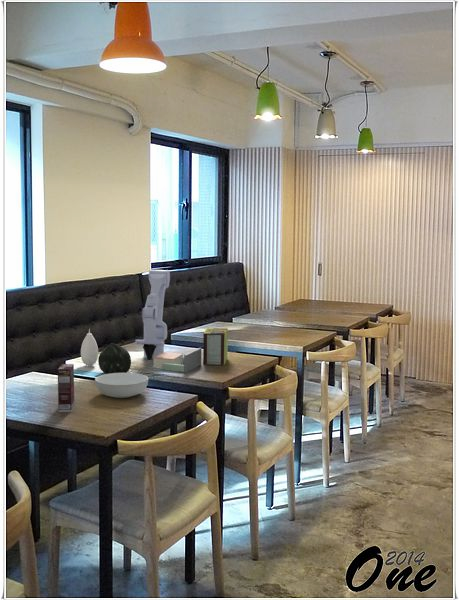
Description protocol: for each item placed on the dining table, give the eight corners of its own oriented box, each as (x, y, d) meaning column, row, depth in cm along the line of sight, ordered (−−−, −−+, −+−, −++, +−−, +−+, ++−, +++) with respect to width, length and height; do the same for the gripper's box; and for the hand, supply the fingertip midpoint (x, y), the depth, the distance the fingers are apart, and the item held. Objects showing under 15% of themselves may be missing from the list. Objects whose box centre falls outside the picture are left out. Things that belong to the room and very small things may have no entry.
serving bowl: (158, 392, 266) (158, 375, 266) (129, 405, 247) (129, 387, 247) (114, 386, 275) (114, 369, 274) (84, 398, 256) (83, 380, 255)
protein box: (227, 358, 332) (228, 328, 330) (224, 365, 316) (224, 333, 314) (206, 357, 333) (207, 327, 331) (202, 364, 317) (203, 332, 315)
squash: (130, 356, 306) (109, 334, 300) (141, 364, 293) (120, 341, 287) (108, 378, 303) (86, 356, 296) (118, 387, 290) (96, 364, 283)
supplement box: (61, 405, 245) (61, 363, 243) (74, 405, 245) (74, 363, 243) (57, 412, 236) (57, 369, 234) (71, 412, 237) (70, 369, 235)
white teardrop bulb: (88, 368, 304) (88, 330, 302) (77, 366, 308) (77, 328, 306) (101, 366, 310) (101, 328, 308) (90, 363, 315) (90, 326, 312)
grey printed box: (162, 369, 304) (162, 352, 304) (178, 362, 321) (178, 345, 320) (186, 372, 300) (186, 355, 299) (201, 364, 317) (201, 348, 316)
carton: (153, 368, 309) (153, 357, 308) (162, 362, 320) (163, 352, 320) (173, 370, 306) (173, 359, 305) (182, 364, 318) (182, 353, 317)
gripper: (132, 332, 313) (132, 360, 315) (159, 334, 308) (159, 362, 310) (139, 329, 320) (139, 357, 322) (166, 332, 315) (166, 360, 317)
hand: (149, 359), depth 316 cm, fingers closed
